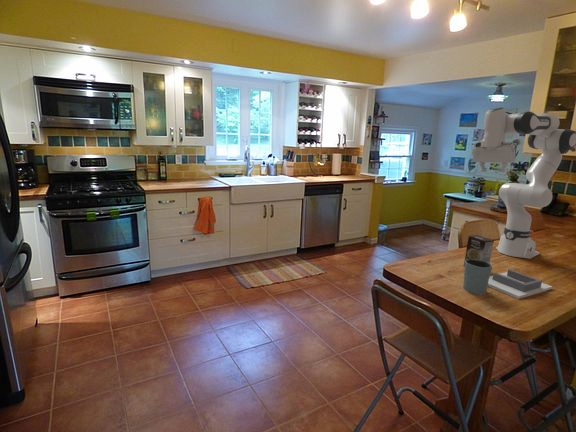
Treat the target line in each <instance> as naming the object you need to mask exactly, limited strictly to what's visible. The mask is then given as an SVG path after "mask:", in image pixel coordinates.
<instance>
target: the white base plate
mask: <svg viewBox="0 0 576 432" xmlns="http://www.w3.org/2000/svg"><path fill="white" fill-rule="evenodd" d="M487 287H489V288H491V289H494V290H495V291H498V292H501V293H503V294H506V295H508V296H511V297H512V298H514V299H517V300H520V299H524V298H527V297H530V296H533V295H537V294H541V293H543V292H547V291H550V290H553V286H552V285H549V284H547V283H543V280H541V279H538V278H536V277H532V276H530V275H527V274H524V273H521V272H520V271H519V272H518V271H516V270H513V269H508V270H507V271H505V272H501V273H497V272H493V274H492V275H490V277H489V281H488V285H487Z"/></svg>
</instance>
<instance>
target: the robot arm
mask: <svg viewBox="0 0 576 432" xmlns="http://www.w3.org/2000/svg"><path fill="white" fill-rule="evenodd" d="M560 124H561V123H560V118H559V117H558V116H557V115H554V114H551V113H547V112H546V113H545V112H540V113H535V112H532V111H524V112H519V113H512V114H510V113H507V112H506V109H505V108H504V107H495V108H490V109H488V110H487V111H486V112H485V115H484V121H483V129H484V130H483V131H484V135H483V139H481V140H480V141H477V142H475V143H474V144H473V148H474V149H473V151H472V161H473V162H474V163H479V166H480V169H481V172H483V173H484V172H487V170H488V168H487V167H486V166H485V165H486V163H500V164H501V167H500V168H498V170H499V171H498V172H499V173H505V170H506V167H507V166H508V163H509V164H510V163H514V162H515V161H516V160H517V159H516V145H515V143H513V142H509V141H508V142H507V141H506V136H510V135H511V136H512V135H528V137H527V145H528V147H530V148H531V149H534V150H541V151H542V152H541V153H540V154H539V156H538V157H537V158H535V160H534V161H533V162H532V164H531V166H529V168H528V169H527V171H526V173H525V178H526V180H527V181H528V184H527V183H526V184H525V183H519V182H507V183H504V184H502V185H501V186H500V188H499V189H498V196H499V198H500V199H501V200H502V201H503V203H504V205H505V207H506V211H507V218H506V223H505V224H506V225H505V227H504V229H503V234H502V235H501V236H500V239H499V242H498V246H496V247H495V249H496V250H497V251H498V252H499V253H501V254H503V255H506V256H509V257H514V258H515V257H516V258H524V259H528V260H530V259H532V258H535V257H537V256H539V255H540V252H539V251H537V250H536V244H537V243H536V242H535V241H534V240H533V239H532V238H531V235H533V234H534V230H531V226H532V225H531V224H532V220H533V217H532V215H531V214H530V213H529V211H527V210H526V208H525V206H528V207H532V208H544V207H547V206H549V205H550V204H551V202H552V200H553V193H552V190H551V189H550V188H549V185H548V184H549V181H550V180H551V178H552V177H553V175H555V174H554V173H556V171H557V169H558V168H559V166H560V164H561V162H562V159H563V155H565V154H567V153H569V151H571V150H572V149H574V147H575V146H576V131H575V130H573V129H567V128H566V129H562V128H561V129H560V128H559V127H560Z"/></svg>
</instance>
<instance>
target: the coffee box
mask: <svg viewBox="0 0 576 432" xmlns="http://www.w3.org/2000/svg"><path fill="white" fill-rule="evenodd" d="M494 242H495V240H493V239H491V238H487V237H484V236H482V235H479V234H477V235H474V234H473V235H468V238H467V242H466V243H467V244H466V249H465V255H464V261H463V267H464V268H465V260H467V259H478V260H483V261H486V262H489V263H491V262H490V261H491V257H492V253H493V246H494Z"/></svg>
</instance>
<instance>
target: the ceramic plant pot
mask: <svg viewBox="0 0 576 432" xmlns="http://www.w3.org/2000/svg"><path fill="white" fill-rule="evenodd" d="M464 261H465V267H464V269H463V270H464V271H463V275H464V276H463V284H462V287H463V290H464V291H465V292H468V293H471V294H475V295H484V294H486V293H487V288H488V286H487V285H488V281H489V277H490V276H491V273H492V269H493V264H492V263H491V262H486V261H483V260H478V259H467V260H465V259H464Z"/></svg>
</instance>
